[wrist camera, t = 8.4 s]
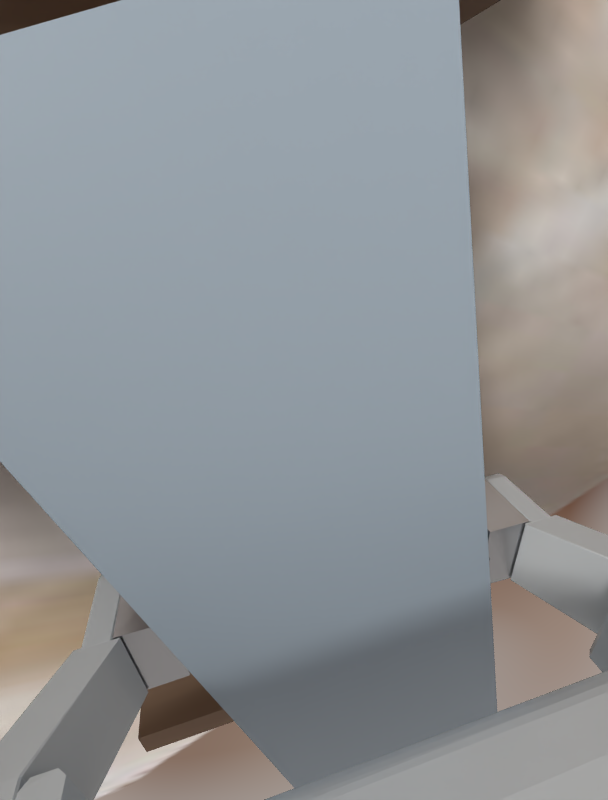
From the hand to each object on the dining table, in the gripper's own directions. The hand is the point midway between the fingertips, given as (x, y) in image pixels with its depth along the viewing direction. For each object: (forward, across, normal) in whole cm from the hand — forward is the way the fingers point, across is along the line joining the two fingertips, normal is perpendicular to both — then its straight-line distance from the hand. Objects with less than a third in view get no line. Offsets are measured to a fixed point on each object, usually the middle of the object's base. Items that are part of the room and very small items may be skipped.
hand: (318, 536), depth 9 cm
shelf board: (+2, 0, 0) cm, 2 cm away
